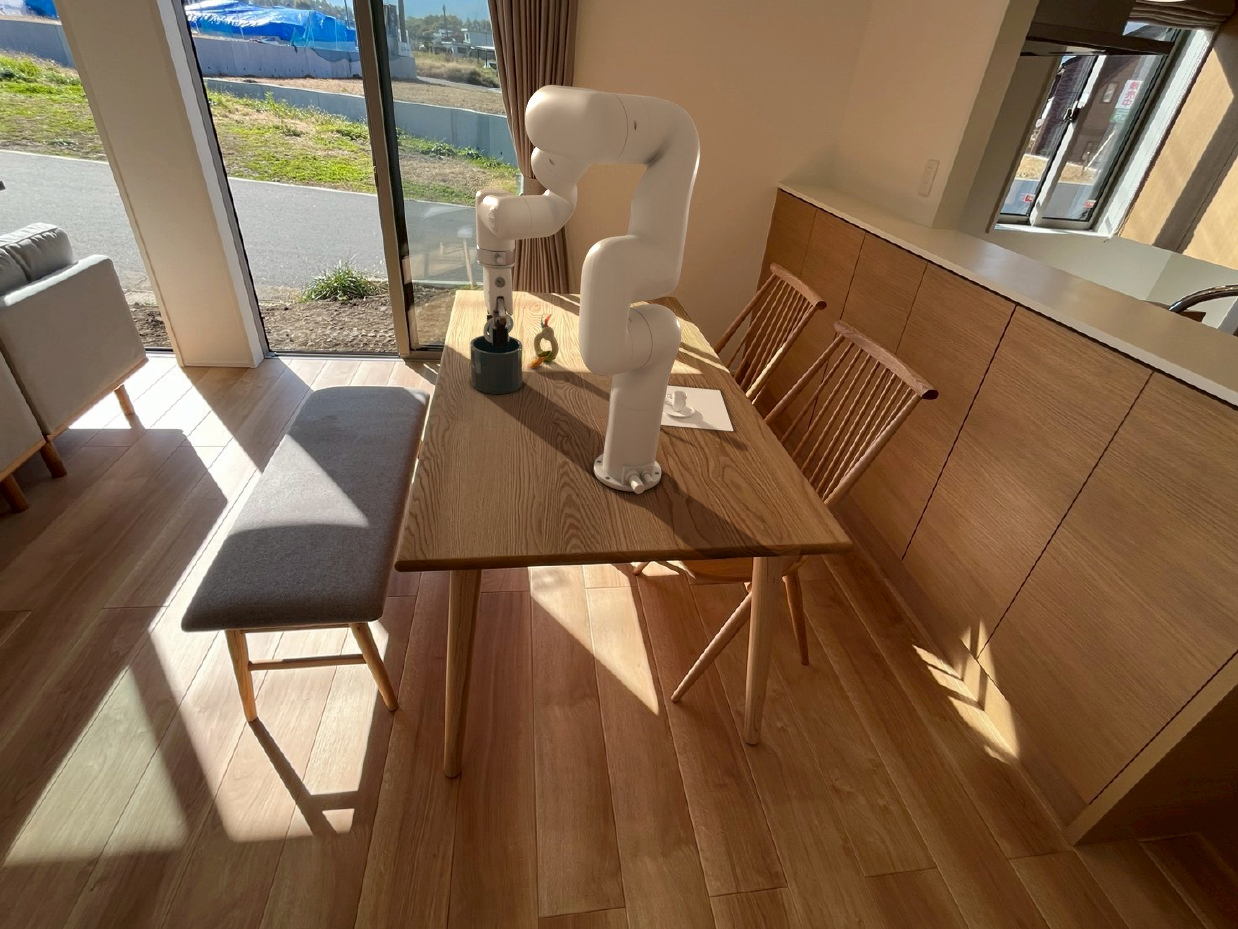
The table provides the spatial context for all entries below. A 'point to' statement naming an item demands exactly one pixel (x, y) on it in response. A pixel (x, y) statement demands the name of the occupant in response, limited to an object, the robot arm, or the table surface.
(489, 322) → the pacifier
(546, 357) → the rattle
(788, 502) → the table surface
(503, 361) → the cup
